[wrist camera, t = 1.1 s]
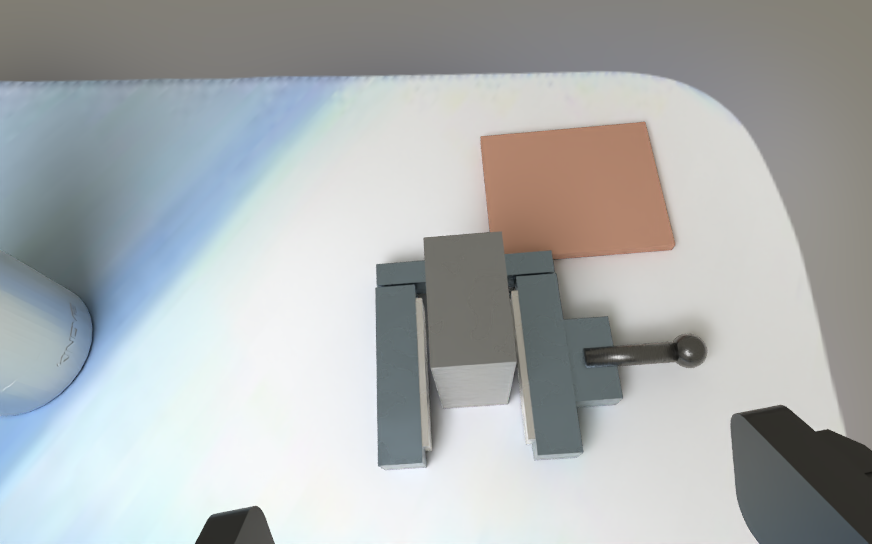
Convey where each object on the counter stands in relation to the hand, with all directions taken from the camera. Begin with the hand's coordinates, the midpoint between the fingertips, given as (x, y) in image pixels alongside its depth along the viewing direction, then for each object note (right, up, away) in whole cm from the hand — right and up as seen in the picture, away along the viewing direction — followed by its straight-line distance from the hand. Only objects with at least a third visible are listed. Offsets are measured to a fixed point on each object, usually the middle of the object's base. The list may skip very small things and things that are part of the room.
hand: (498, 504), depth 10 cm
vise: (+5, -1, +27) cm, 28 cm away
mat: (+9, +9, +32) cm, 34 cm away
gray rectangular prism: (+1, -1, +28) cm, 28 cm away
